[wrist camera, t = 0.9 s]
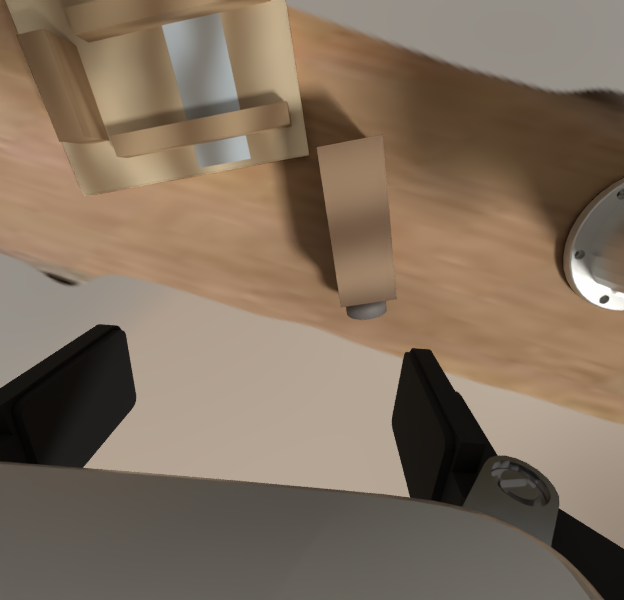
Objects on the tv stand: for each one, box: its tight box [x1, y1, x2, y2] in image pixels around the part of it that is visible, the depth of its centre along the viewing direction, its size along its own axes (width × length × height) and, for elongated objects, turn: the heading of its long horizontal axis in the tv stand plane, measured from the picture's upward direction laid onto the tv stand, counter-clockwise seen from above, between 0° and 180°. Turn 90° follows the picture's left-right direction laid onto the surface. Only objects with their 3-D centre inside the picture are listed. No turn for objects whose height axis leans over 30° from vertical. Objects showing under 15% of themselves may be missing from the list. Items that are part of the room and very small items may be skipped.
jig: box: [5, 0, 310, 196], centre depth 24 cm, size 20×14×4 cm
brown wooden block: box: [317, 134, 397, 320], centre depth 27 cm, size 14×4×6 cm, turn 10°
